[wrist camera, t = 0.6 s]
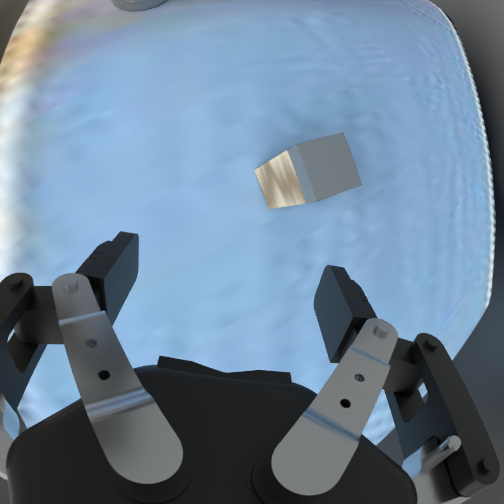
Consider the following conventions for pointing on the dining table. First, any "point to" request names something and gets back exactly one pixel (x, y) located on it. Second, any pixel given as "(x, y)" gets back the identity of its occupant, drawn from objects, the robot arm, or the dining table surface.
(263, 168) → the maple block
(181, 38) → the dining table surface
